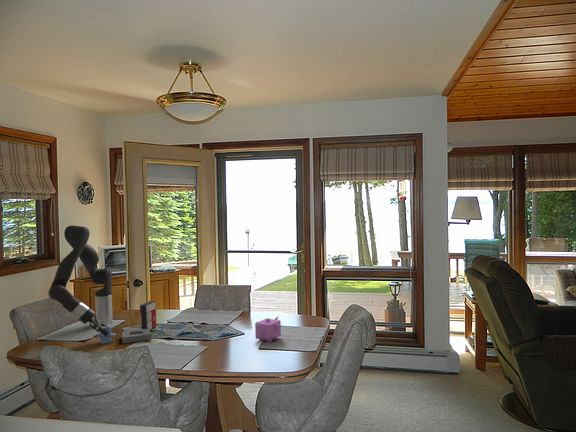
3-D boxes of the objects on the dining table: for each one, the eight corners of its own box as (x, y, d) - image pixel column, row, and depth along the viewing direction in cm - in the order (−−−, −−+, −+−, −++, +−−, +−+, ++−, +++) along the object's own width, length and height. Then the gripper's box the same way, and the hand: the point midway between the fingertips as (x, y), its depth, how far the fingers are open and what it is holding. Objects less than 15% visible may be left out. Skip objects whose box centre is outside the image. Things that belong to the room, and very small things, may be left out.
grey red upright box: (147, 332, 250) (146, 305, 249) (140, 331, 251) (139, 305, 250) (157, 326, 260) (156, 301, 260) (150, 326, 261) (149, 301, 261)
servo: (97, 342, 234) (96, 325, 233) (115, 340, 237) (115, 323, 236) (96, 344, 230) (96, 327, 230) (115, 342, 233) (114, 325, 233)
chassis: (122, 337, 242) (122, 331, 241) (149, 333, 246) (149, 328, 246) (122, 343, 230) (122, 337, 230) (150, 339, 235) (150, 334, 235)
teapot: (283, 343, 224) (283, 321, 223) (257, 345, 221) (256, 323, 221) (279, 334, 239) (278, 314, 238) (254, 336, 236) (253, 316, 236)
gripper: (87, 310, 223) (112, 330, 227) (89, 304, 237) (113, 323, 241) (75, 321, 222) (101, 341, 226) (79, 315, 235) (103, 334, 239)
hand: (107, 332), depth 233 cm, fingers open, 8 cm apart
